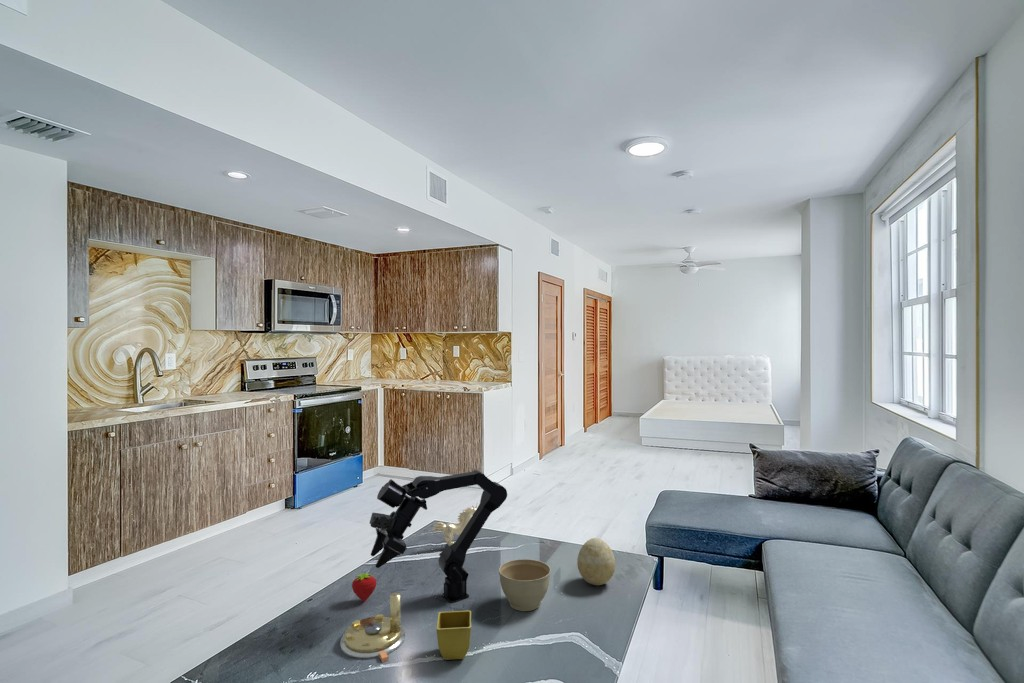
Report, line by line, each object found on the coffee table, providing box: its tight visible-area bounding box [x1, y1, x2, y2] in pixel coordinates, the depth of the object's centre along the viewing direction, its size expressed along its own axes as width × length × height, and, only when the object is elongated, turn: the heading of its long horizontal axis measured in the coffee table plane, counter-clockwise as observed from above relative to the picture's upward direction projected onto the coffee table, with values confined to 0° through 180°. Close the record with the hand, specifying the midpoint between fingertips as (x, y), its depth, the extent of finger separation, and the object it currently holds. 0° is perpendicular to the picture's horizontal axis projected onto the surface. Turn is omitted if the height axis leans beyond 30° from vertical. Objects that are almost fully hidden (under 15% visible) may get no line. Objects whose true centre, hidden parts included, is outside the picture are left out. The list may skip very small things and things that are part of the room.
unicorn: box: [431, 504, 478, 546], centre depth 202 cm, size 20×4×17 cm, turn 111°
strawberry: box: [351, 571, 378, 602], centre depth 159 cm, size 6×8×10 cm
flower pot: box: [436, 610, 472, 661], centre depth 131 cm, size 9×9×9 cm
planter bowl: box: [498, 558, 552, 612], centre depth 157 cm, size 16×16×11 cm
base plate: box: [339, 623, 406, 660], centre depth 138 cm, size 17×17×4 cm
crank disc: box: [343, 592, 402, 653], centre depth 138 cm, size 15×15×11 cm
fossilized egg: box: [576, 537, 616, 586], centre depth 171 cm, size 13×13×15 cm
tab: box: [378, 651, 389, 663], centre depth 129 cm, size 3×2×1 cm, turn 31°
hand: (374, 561), depth 152 cm, fingers open, 9 cm apart
